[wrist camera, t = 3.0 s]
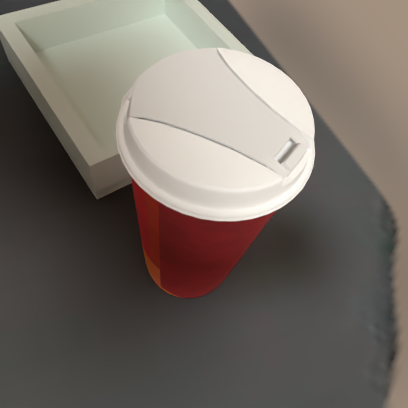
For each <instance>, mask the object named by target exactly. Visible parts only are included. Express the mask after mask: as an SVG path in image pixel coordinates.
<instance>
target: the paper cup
mask: <svg viewBox="0 0 408 408" xmlns="http://www.w3.org/2000/svg"><path fill="white" fill-rule="evenodd" d="M314 134H315V129H314V119H313V115H312V112H311V108H310V106H309V104H308V102H307V99H306V97H305V96H304V95H303V93H302V92H301V90H300V89H299V87H298V86H297V85H296V84H295V83H294V82H293V81H292V80H291V79H290V78H289V77H288V76H287V75H286V74H284V73H283V72H282V71H281V70H279V69H278V68H276V67H275V66H273V65H272V64H270V63H268V62H266V61H264V60H262V59H260V58H258V57H255V56H253V55H250V54H247V53H244V52H240V51H236V50H231V49H226V48H217V49H216V48H201V49H192V50H185V51H181V52H177V53H173V54H171V55H169V56H167V57H164V58H163V59H161V60H159V61H158V62H156V63H155V64H153V65H152V66H151V67H149V68H148V69H146V70H145V71H144V72H143V73H141V74H140V75H139V76H138V77H137V78H136V80H135V81H134V83H133V85H132V87H131V88H130V90H129V91H128V92H127V93H126V95H125V96H124V97H123V99H122V103H121V107H120V112H119V115H118V119H117V122H116V141H117V148H118V152H119V154H120V157H121V160H122V162H123V164H124V166H125V168H126V169H127V171H128V173H129V175H130V176H131V181H132V187H133V193H134V199H135V205H136V211H137V217H138V223H139V229H140V235H141V241H142V246H143V251H144V257H145V261H146V265H147V268H148V271H149V274H150V276H151V277H152V279H153V280H154V282H155V283H156V284H157V285H158V286H159V287H160V288H161V289H162V290H164V291H165V292H167V293H169V294H171V295H173V296H176V297H180V298H197V297H201V296H204V295H206V294H208V293H210V292H212V291H213V290H214V289H216V288H217V287H218V286H219V285H220V284H221V283H222V282H223V281H224V279H225V278H226V277H227V276H228V274H229V273H230V272H231V271H232V269H233V268H234V267H235V265H236V264H237V263H238V261H239V260H240V259H241V257H242V256H243V255H244V253H245V252H246V250H247V249H248V248H249V246H250V245H251V244H252V242H253V241H254V240H255V238H256V237H257V236H258V234H259V233H260V231H261V230H262V229H263V227H264V226H265V225H266V223H267V222H268V221H269V220H270V218H271V217H272V216H273V215H274V213H275V212H276V211H277V210H278V209H280V208H282V207H283V206H284V205H286V204H287V203H288V202H290V201H291V200H292V199H294V198H295V196H296V195H297V194H298V193H299V192H300V191H301V190H302V189H303V187H304V185H305V184H306V182H307V180H308V179H309V177H310V174H311V171H312V168H313V165H314V157H315V147H314Z"/></svg>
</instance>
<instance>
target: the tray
mask: <svg viewBox="0 0 408 408" xmlns="http://www.w3.org/2000/svg"><path fill="white" fill-rule="evenodd" d="M0 39H1V42H2V45H3V47H4V50H5V53H6V55H7V58H8V61H9V62H10V64H11V65H12V67H13V68H14V70H15V72H16V73H17V75H18V76H19V78H20V79H21V81H22V83H23V84H24V86H25V87H26V89H27V91H28V92H29V94H30V95H31V97H32V98H33V100H34V102H35V103H36V105H37V106H38V108H39V109H40V111H41V113H42V114H43V116H44V117H45V119H46V120H47V122H48V124H49V125H50V127H51V128H52V130H53V131H54V133H55V135H56V136H57V138H58V139H59V141H60V142H61V144H62V146H63V147H64V149H65V150H66V152H67V153H68V155H69V157H70V158H71V160H72V161H73V163H74V165H75V166H76V168H77V169H78V171H79V172H80V174H81V176H82V177H83V179H84V180H85V182H86V183H87V185H88V187H89V188H90V190H91V191H92V193H93V194H94V196H95V198H96V199H99V198H101V197H103V196H105V195H107V194H110V193H112V192H114V191H116V190H118V189H120V188H122V187H124V186H126V185H128V184H131V183H132V181H131V176H130V175H129V173H128V171H127V169H126V168H125V166H124V164H123V162H122V160H121V157H120V154H119V152H118V148H117V141H116V122H117V119H118V115H119V112H120V107H121V103H122V99H123V97H124V96H125V95H126V93H127V92H128V91H129V90H130V88H131V87H132V85H133V83H134V81H135V80H136V78H137V77H138V76H139V75H140V74H141V73H143V72H144V71H145V70H146V69H148V68H149V67H151V66H152V65H153V64H155V63H156V62H158V61H159V60H161V59H163V58H164V57H167V56H169V55H171V54H173V53H177V52H181V51H185V50H192V49H201V48H216V49H217V48H226V49H231V50H236V51H240V52H244V53H247V54H250V55H252V54H251V53H250V52H249V51H248V50H247V49H246V48H245V47H244V46H243V45H242V44H241V43H240V42H239V41H238V40H237V39H236V38H235V37H234V36H233V35H232V34H231V33H230V32H229V31H228V30H227V29H226V28H225V27H224V26H223V25H222V24H221V23H220V22H219V21H218V20H217V19H216V18H215V17H214V16H213V15H212V14H211V13H210V12H209V11H208V10H207V9H206V8H205V7H204V6H203V5H202V4H201V3H200V2H199V1H198V0H60V1H56V2H52V3H48V4H44V5H40V6H36V7H32V8H28V9H24V10H20V11H16V12H12V13H8V14H4V15H0Z"/></svg>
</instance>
